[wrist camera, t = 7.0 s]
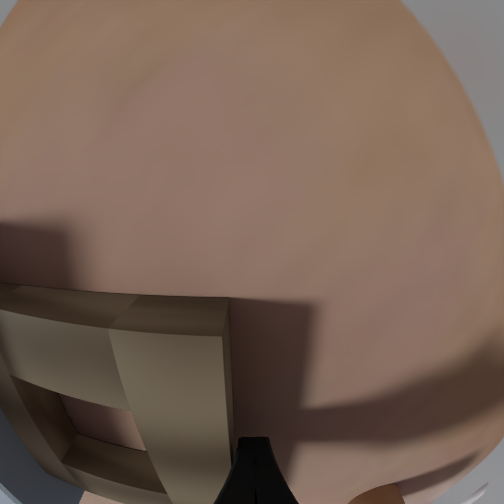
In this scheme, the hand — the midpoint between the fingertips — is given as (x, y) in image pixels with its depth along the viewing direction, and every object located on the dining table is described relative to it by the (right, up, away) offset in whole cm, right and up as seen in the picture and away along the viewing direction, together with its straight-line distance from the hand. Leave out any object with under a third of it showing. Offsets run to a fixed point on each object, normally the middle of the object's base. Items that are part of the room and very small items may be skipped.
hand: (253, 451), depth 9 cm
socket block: (-7, 0, +1) cm, 7 cm away
